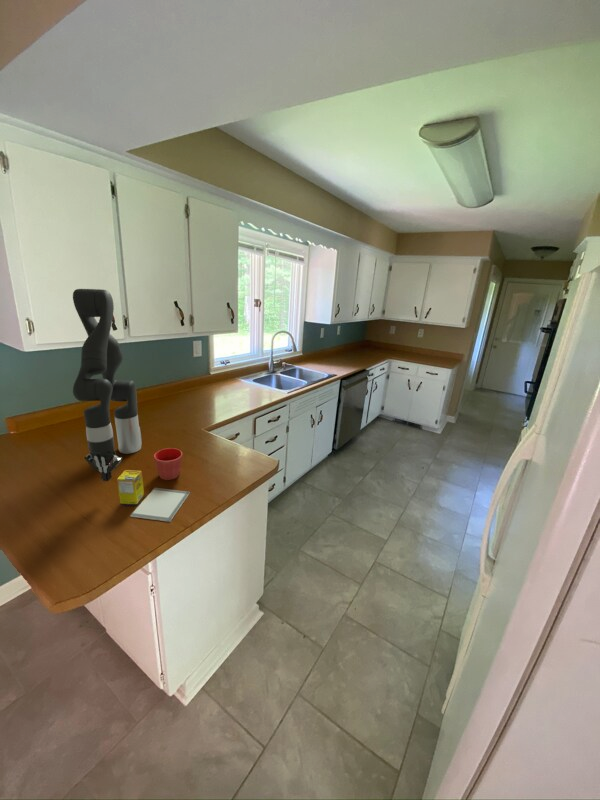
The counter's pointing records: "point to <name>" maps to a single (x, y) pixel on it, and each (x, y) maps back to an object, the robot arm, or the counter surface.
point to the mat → (161, 504)
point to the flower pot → (168, 463)
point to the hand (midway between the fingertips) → (106, 479)
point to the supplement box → (130, 487)
